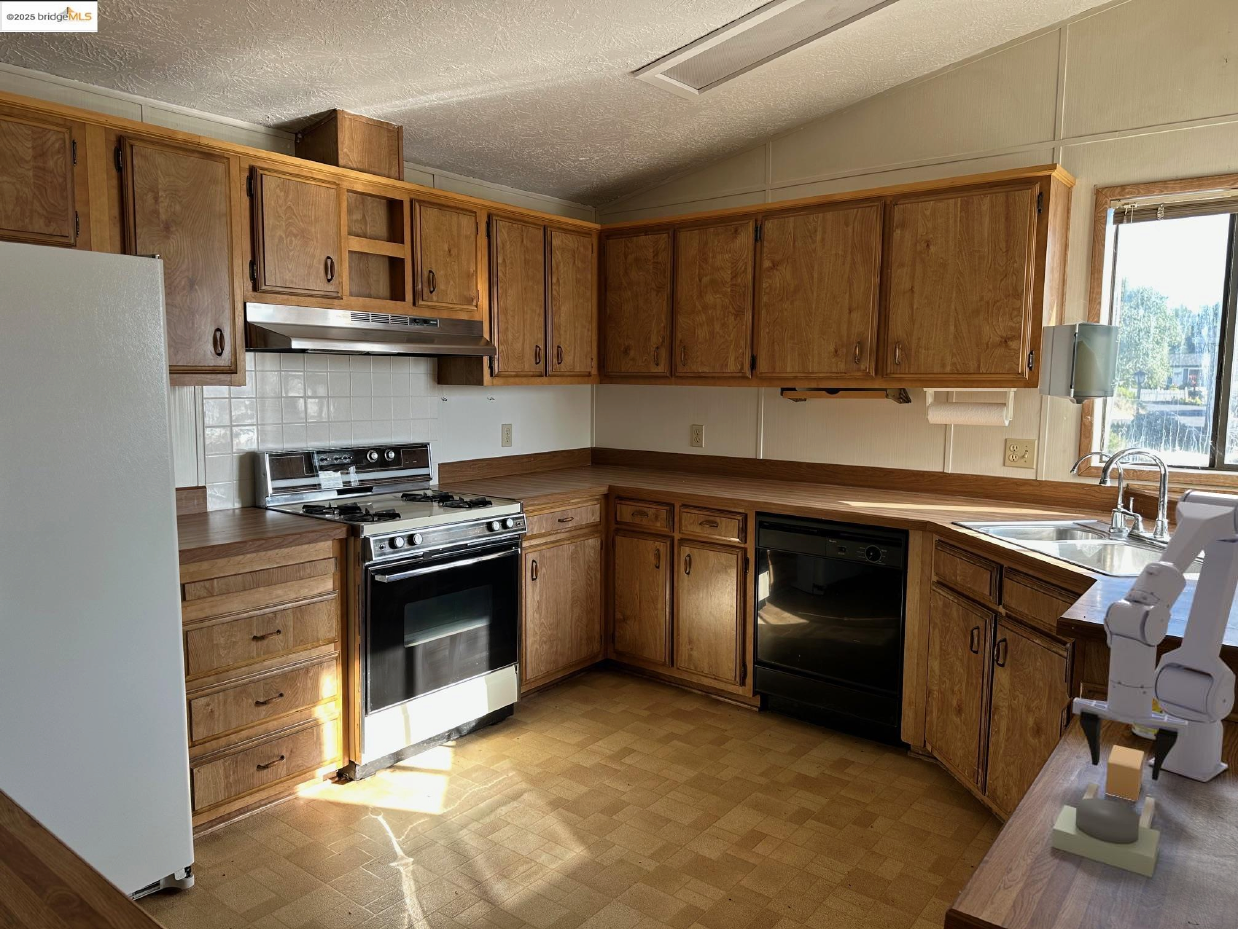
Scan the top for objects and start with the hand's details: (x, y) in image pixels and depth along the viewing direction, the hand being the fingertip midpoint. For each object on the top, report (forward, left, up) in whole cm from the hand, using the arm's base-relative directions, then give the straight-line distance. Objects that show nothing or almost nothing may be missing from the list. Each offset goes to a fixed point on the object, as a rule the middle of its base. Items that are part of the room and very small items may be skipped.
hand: (1124, 770), depth 125 cm
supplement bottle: (-26, -6, -3) cm, 27 cm away
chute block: (0, 0, -3) cm, 3 cm away
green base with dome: (+15, +5, -3) cm, 16 cm away
